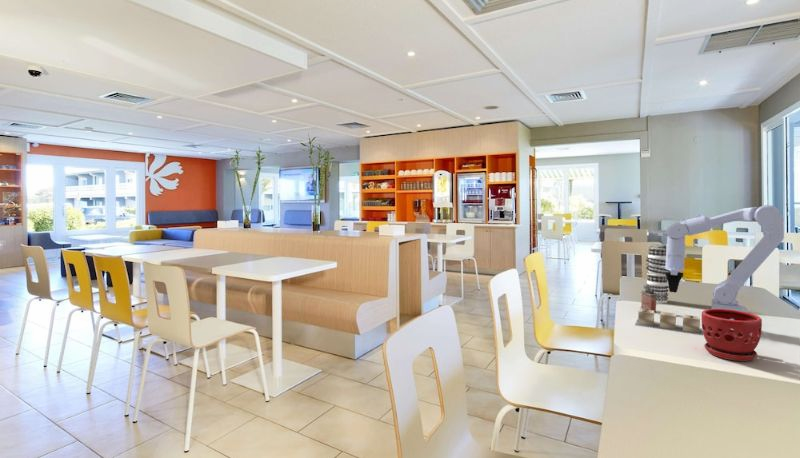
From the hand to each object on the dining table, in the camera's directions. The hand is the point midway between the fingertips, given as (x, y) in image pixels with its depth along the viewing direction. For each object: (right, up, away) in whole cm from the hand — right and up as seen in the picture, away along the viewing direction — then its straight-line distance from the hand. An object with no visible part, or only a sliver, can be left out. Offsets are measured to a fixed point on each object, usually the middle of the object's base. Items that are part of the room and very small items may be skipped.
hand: (673, 291), depth 152 cm
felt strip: (-8, -11, -10) cm, 17 cm away
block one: (-3, -11, -14) cm, 18 cm away
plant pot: (-8, -13, -36) cm, 39 cm away
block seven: (-14, -10, -6) cm, 18 cm away
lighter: (-1, -10, +13) cm, 16 cm away
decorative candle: (+14, -9, +32) cm, 36 cm away
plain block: (-8, -11, -10) cm, 17 cm away
